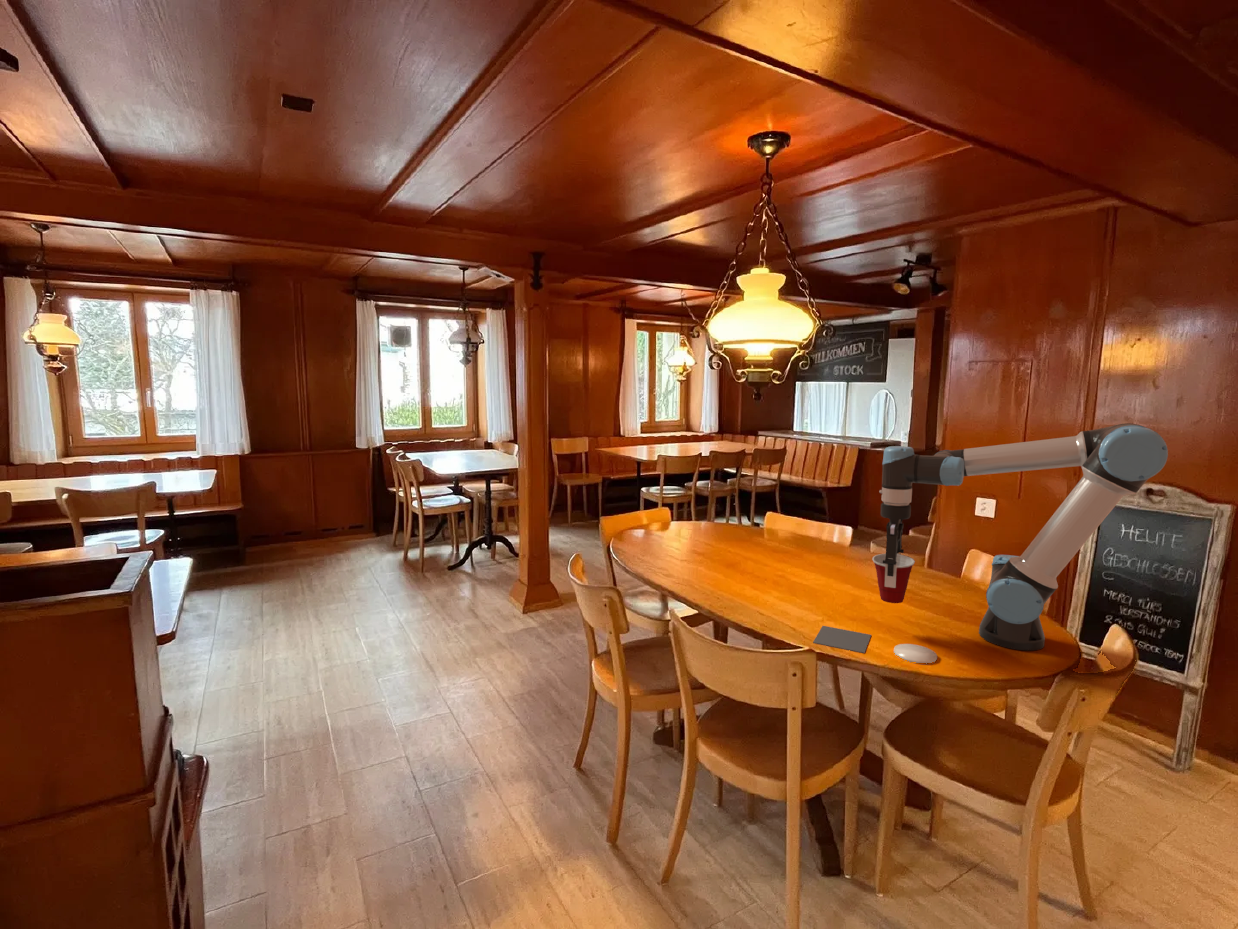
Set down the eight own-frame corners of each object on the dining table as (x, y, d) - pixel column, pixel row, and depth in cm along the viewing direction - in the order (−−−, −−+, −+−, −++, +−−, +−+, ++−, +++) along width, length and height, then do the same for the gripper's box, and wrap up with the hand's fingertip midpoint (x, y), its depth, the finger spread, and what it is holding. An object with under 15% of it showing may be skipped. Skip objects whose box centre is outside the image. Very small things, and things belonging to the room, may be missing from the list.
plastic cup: (863, 600, 173) (865, 558, 171) (880, 591, 180) (881, 551, 178) (903, 610, 165) (905, 566, 163) (919, 599, 172) (921, 558, 171)
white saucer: (937, 653, 161) (937, 649, 161) (935, 669, 152) (936, 664, 152) (895, 645, 166) (896, 641, 166) (891, 659, 157) (892, 655, 157)
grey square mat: (871, 637, 171) (871, 634, 171) (864, 655, 160) (864, 652, 160) (822, 628, 177) (822, 625, 177) (812, 645, 166) (813, 642, 166)
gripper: (886, 495, 181) (882, 568, 184) (875, 509, 161) (872, 591, 164) (914, 497, 177) (910, 571, 180) (907, 512, 157) (903, 595, 160)
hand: (892, 581), depth 172 cm, fingers closed on plastic cup, 11 cm apart
